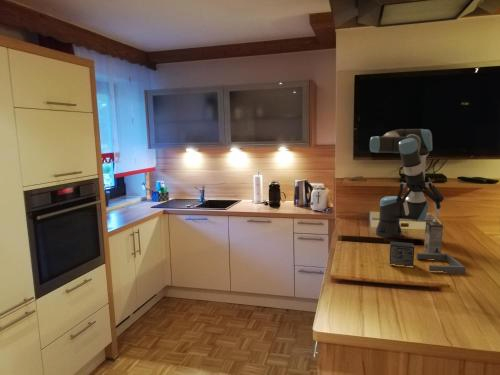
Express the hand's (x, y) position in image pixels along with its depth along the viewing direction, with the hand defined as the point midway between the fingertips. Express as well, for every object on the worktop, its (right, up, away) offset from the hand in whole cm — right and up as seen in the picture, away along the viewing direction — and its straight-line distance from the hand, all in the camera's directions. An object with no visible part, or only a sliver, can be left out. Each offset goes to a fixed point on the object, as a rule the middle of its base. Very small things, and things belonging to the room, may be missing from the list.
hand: (422, 214), depth 174 cm
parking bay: (+10, -25, +4) cm, 27 cm away
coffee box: (+15, -22, +21) cm, 34 cm away
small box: (-8, -25, +6) cm, 26 cm away
